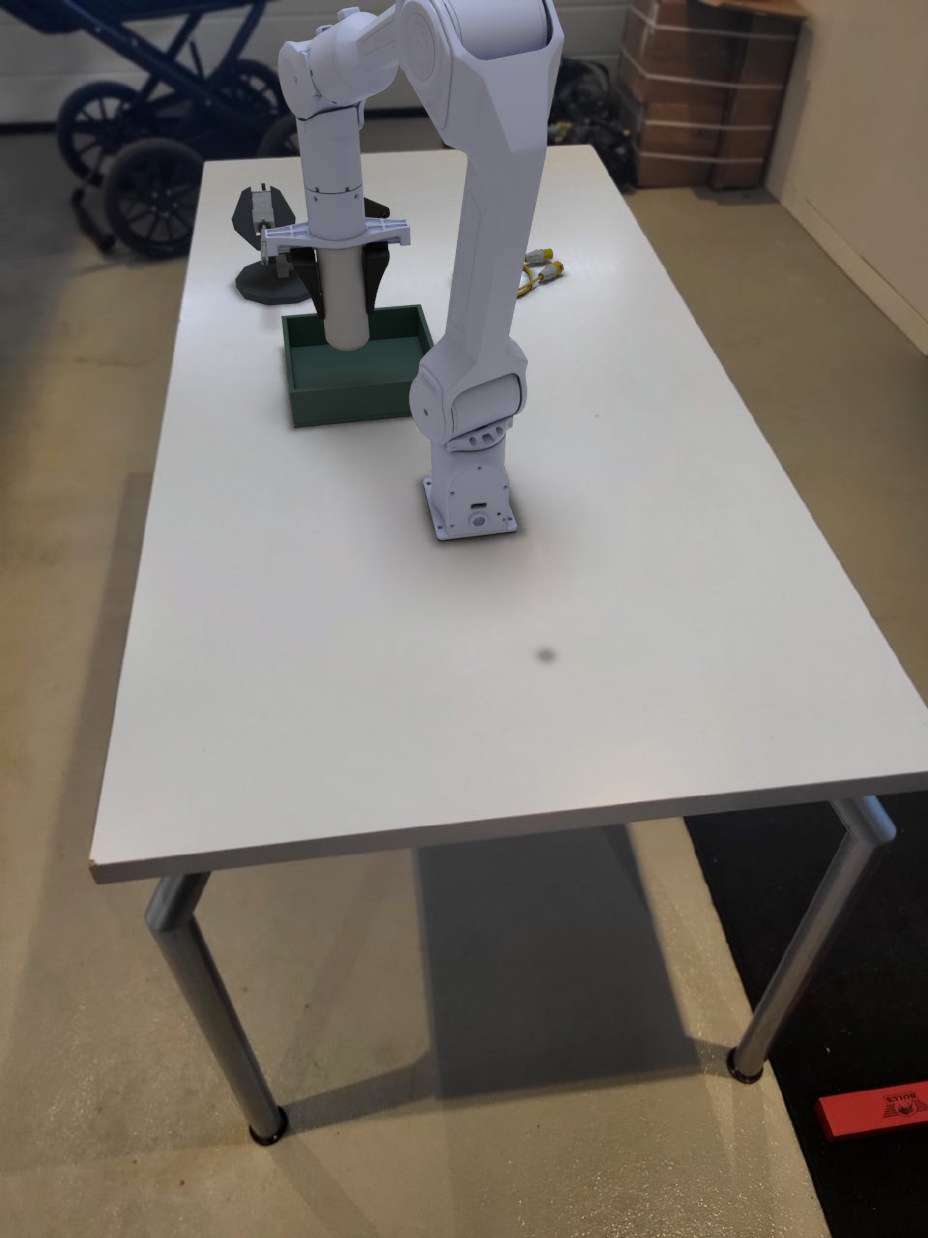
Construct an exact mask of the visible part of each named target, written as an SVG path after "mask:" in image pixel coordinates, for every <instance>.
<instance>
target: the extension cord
mask: <svg viewBox="0 0 928 1238" xmlns="http://www.w3.org/2000/svg"><path fill="white" fill-rule="evenodd" d="M553 259H554V251H553V248H550V247H549V248H544V249H543V248H538V249H534V250H532V251H530V252H528V253H527V252H526V255H525V260H524V265H523V270H524V271H525V272H526V273H527V274H528V276H529V282H528V283H526V284H525V285H522V286H521V287H520V286H519V289H518V294H517V297H519V296H521V295H524V294H526V293H527V292H529V291H530V290H531V289H532V287H533V285H534V283H536V282H538V281H540V282H543V281H547V280H553V278H555V277H557V276H558V275H560V274H562V273H563V271H564V270H565V267H564V264H563V263H562V262H561V261H559V260H556V261H554V262H552V263H550V264H547V265H545V266H544V267H543V269H542V270H541V271H540V272H539V273H538V274H537V277H536V278H533V273H532V272H531V271H532V270H531V269H530V268H529V266H527V265H526V264H541V263H544V262H546V261H550V260H553ZM523 270H522V271H523Z"/></svg>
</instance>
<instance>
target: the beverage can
mask: <svg viewBox="0 0 928 1238" xmlns="http://www.w3.org/2000/svg"><path fill="white" fill-rule="evenodd" d="M315 248H316V250H315V257H316V262H317V266H318V275H319V284H320V292H321V293H320V294H321V300H322V305H323V310H324V317H325V320H324V327H325V335H326V340H327V342H328V343H329V344H330V345H331V346H332V347H334V348H335V349H338V350H342V351H353V350H357V349H359V348H361V347H363V346H364V345H365V344H366V342H367V341H368V339H369V325H368V314H367V299H366V286H365V273H364V260H363V246H362V244H361V245H357V246H353V247H349V248H342V249H330V248H317V247H315Z"/></svg>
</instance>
